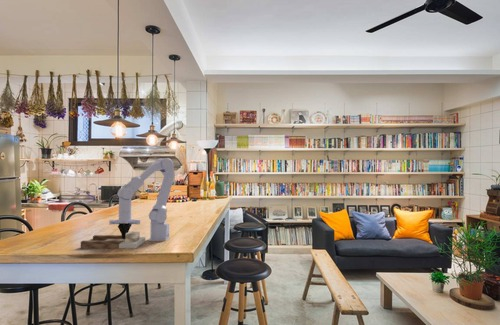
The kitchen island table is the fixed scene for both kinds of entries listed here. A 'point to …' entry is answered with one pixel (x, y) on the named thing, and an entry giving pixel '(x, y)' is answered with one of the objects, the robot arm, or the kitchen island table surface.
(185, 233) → the kitchen island table surface
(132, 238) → the cube
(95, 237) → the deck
